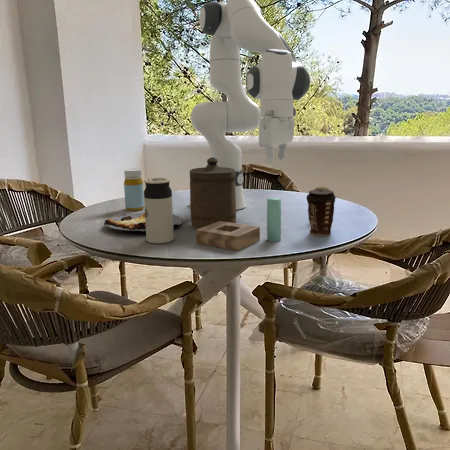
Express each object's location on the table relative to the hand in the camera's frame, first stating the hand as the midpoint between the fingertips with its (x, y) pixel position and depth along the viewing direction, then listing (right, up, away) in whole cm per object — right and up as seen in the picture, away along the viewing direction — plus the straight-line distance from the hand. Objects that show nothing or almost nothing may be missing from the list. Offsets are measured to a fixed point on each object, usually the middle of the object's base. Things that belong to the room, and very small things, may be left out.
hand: (276, 161), depth 137 cm
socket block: (-14, -23, +3) cm, 27 cm away
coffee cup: (+14, -21, +11) cm, 27 cm away
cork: (+18, -16, +28) cm, 37 cm away
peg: (0, -22, +5) cm, 23 cm away
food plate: (-41, -19, +23) cm, 51 cm away
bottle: (-49, -12, +47) cm, 69 cm away
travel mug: (-34, -23, +6) cm, 41 cm away
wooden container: (-18, -18, +23) cm, 34 cm away
